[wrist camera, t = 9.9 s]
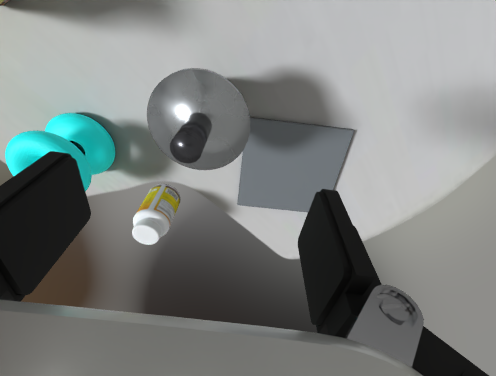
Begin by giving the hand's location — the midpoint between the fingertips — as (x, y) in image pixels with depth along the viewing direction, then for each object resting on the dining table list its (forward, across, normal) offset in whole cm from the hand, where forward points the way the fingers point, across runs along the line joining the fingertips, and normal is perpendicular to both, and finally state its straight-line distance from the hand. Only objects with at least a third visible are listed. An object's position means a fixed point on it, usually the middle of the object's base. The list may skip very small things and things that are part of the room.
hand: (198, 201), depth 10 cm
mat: (+28, -10, +14) cm, 33 cm away
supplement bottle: (+28, +10, +23) cm, 38 cm away
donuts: (+29, +23, +15) cm, 39 cm away
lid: (+19, +3, +4) cm, 19 cm away
